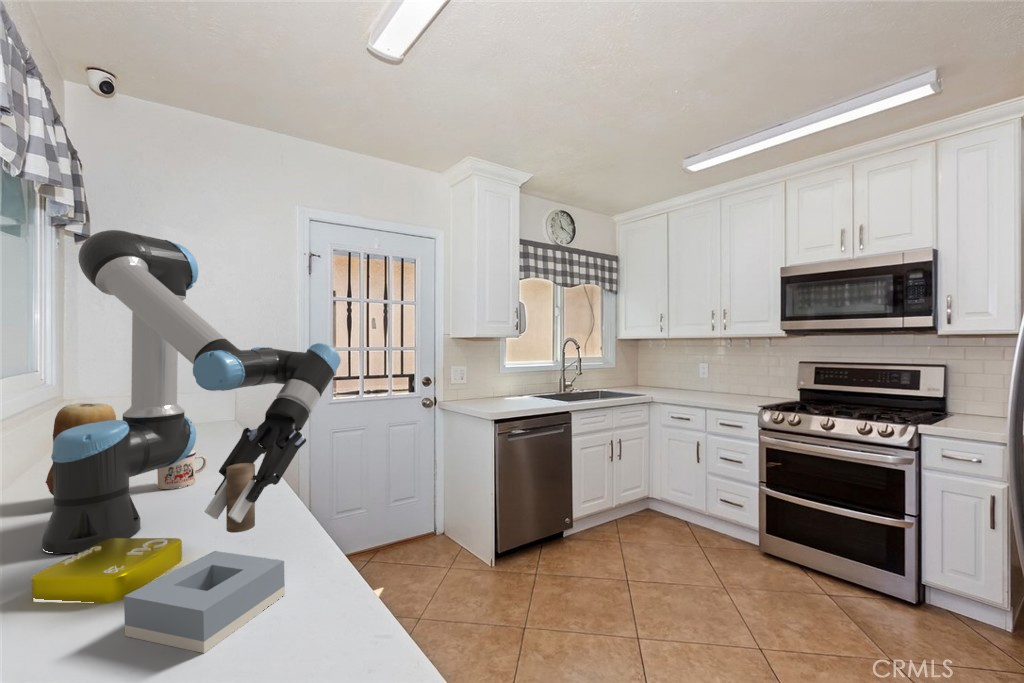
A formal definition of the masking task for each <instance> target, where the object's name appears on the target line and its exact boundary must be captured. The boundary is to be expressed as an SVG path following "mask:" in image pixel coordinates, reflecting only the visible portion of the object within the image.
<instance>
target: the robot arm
mask: <svg viewBox="0 0 1024 683" xmlns="http://www.w3.org/2000/svg"><path fill="white" fill-rule="evenodd" d="M78 264H79V267H80V270H81V272H82V273H83V275H84V276H85V277H86V279H87V280H88V281H89V282H90V283H91V284H92V285H93V286H94V287H95V288H96V289H98V290H99V291H100V292H101V293H103V294H105V295H109V296H114V297H115V298H116V299H118V300H119V301H120V302H121V303H122V304H123V305H124V306H126V308H128V309H129V310H130V311H131V314H132V316H131V318H132V319H131V320H132V322H131V330H132V331H131V389H130V390H131V396H130V397H131V399H130V400H131V402H130V404H131V405H130V407H128V409H126V411H124V412H123V413H122V420H120V419H116V420H109V421H101V422H97V423H89V424H84V425H80V426H77V427H73V428H70V429H68V430H65V431H63V432H61V433H60V434H58V435H57V437H56V438H55V439H54V442H53V441H52V452H51V455H50V456H51V460H52V464H53V490H54V496H53V510H52V512H51V514H50V517H49V520H48V522H47V525H46V527H45V530H44V533H43V536H42V539H41V547H42V548H43V549H44V550H45V551H48V552H53V553H70V554H75V553H74V552H77V553H80V552H82V551H84V550H86V549H88V548H90V547H92V546H94V545H96V544H98V543H101V542H103V541H105V540H108V539H112V538H132V537H133V536H134V535H136V534H137V533H138V532H139V531H140V530H141V517H140V514H139V511H138V510H137V507H136V506H135V503H134V501H133V499H132V497H131V495H130V478H132V477H135V476H138V475H142V474H145V473H148V472H152V471H157V469H159V468H165V467H168V466H170V465H172V464H174V463H177V462H179V461H181V460H183V459H184V458H186V456H188V455H189V454H190V452H191V451H192V450H194V447H195V446H196V442H197V441H196V440H197V430H196V427H195V425H194V424H193V422H192V420H191V419H190V418H189V417H187V416H185V408H183V407H181V406H180V405H179V404H178V362H179V360H178V357H179V356H178V354H181V356H183V357H184V358H185V359H187V361H188V362H190V363H191V364H192V375H193V377H194V378H195V383H196V384H197V385H198V386H199V387H200V388H201V389H204V390H207V391H209V392H216V391H223V392H225V391H230V390H236V389H240V388H247V387H257V386H263V385H264V386H265V385H269V384H270V385H271V384H279V385H283V386H282V387H281V389H280V391H279V392H278V393H277V395H276V397H275V399H274V400H273V401H272V403H271V404H270V405H269V407H268V409H267V410H266V411H265V414H264V415H265V416H264V421H263V422H262V423H260V424H259V425H258V426H257V428H254V429H250V427H245V428H244V429H242V434H241V435H240V438H239V440H238V441H237V443H236V444H235V446H234V447H233V449H232V450H231V452H230V453H229V455H228V456H227V458H226V459H225V461H224V462H223V463H222V465H221V467H220V468H219V470H218V473H220V475H221V476H223V479H222V481H221V483H220V484H219V485H218V487H217V489H216V490H215V492H214V497H213V498H212V500H211V501H210V502H209V504H208V505H207V507H206V509H204V513H205V514H206V515H208V516H210V517H211V518H212V519H214V520H218V519H219V518H220V516H221V514H222V513H223V511H224V510H225V508H227V467H228V466H231V465H234V464H240V463H253V464H255V462H256V461H257V460H258V459H259V458H260V457H261V455H263V454H264V456H263V459H262V461H261V463H260V465H259V468H258V471H257V473H256V474H255V476H253V478H254V479H255V481H254V480H250V481H249V482H248V484H247V485H246V487H245V488H244V490H243V491H242V493H241V495H240V496H239V498H238V499H237V501H236V503H235V504H234V506H233V507H232V509H231V510H230V512H229V514H228V516H229V517H231V518H232V519H234V520H235V521H236V522H240V523H241V521H242V519H243V518H244V516H245V514H246V513H247V511H248V510H249V508H250V506H251V505H252V503H255V504H256V502H257V500H258V499H259V497H260V496H261V494H262V492H263V491H264V489H265V488H266V487H268V486H269V485H274V486H275V485H278V484H279V482H280V481H281V479H282V477H283V476H284V475H285V473H286V471H287V469H288V468H289V466H290V464H291V462H292V461H293V459H294V458H295V456H296V454H297V453H298V451H299V449H301V447H302V446H304V444H306V442H307V439H306V438H305V436H304V435H303V433H301V432H300V431H301V430H303V428H304V426H305V425H306V422H307V421H308V419H309V417H310V415H311V413H313V410H314V408H315V407H316V406H317V404H318V403H319V401H320V399H321V397H322V396H323V393H324V392H325V390H326V389H327V387H328V386H329V384H330V382H331V381H332V380H333V378H334V377H335V375H336V372H337V370H338V368H339V367H340V364H341V361H342V360H341V356H340V354H339V353H338V351H337V350H336V349H335V348H334V347H332V346H330V345H328V344H325V343H322V342H316V343H314V344H312V345H310V346H309V347H308V348H307V350H306V351H305V352H303V351H291V350H285V349H280V348H279V349H277V348H273V347H267V346H266V347H263V346H262V347H260V346H259V347H258V346H256V347H252V348H251V349H239V348H238V347H237V346H235V345H234V344H233V343H232V342H231V341H230V340H228V339H227V338H226V337H225V336H224V335H223V334H221V333H220V332H219V331H218V330H217V329H215V328H214V327H213V326H212V325H210V324H209V322H207V321H206V320H205V319H204V318H202V317H201V316H200V315H199V314H198V313H197V312H196V311H195V310H194V309H193V308H191V307H190V306H189V305H188V304H186V303H185V302H184V300H186V299H187V291H188V290H190V289H192V288H193V287H194V286H195V285H194V284H195V283H197V281H198V278H199V266H198V262H197V259H196V257H195V256H194V254H193V253H192V252H191V251H190V250H188V249H187V247H185V246H183V245H181V244H180V243H175V242H172V241H171V240H167V239H162V238H156V237H151V236H147V235H143V234H139V233H133V232H128V231H125V230H118V229H108V230H103V231H99V232H97V233H95V234H92V235H91V236H89V237H87V239H86V240H85V241H84V242H83V243H82V244H81V246H80V249H79V252H78ZM42 548H41V549H42Z"/></svg>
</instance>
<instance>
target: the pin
mask: <svg viewBox="0 0 1024 683" xmlns="http://www.w3.org/2000/svg"><path fill="white" fill-rule="evenodd" d="M255 475H256V464H255V463H240V464H234V465H231V466H228V467H227V505H226V524H225V525H226V527H225V528H226V532H228V533H232V534H233V533H243V532H247V531H249V530H252V529H253V528H255V526H256V502H255V503H252V505H251V506H250V508H249V510H248V511H247V513H246V514H245V516H244V518H243V519H242V521H241V523H240V522H236V521H235V520H234V519H232V518H231V517H229V516H228V514H229V512H230V510H231V509H232V507H233V506H234V504H235V503H236V501H237V499H238V498H239V496H240V495H241V493H242V491H243V490H244V488H245V487H246V485H247V484H248V482H249V481H250V480H254V481H255V482H256V480H255V479H254V478H253V476H255Z"/></svg>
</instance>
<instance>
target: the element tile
mask: <svg viewBox="0 0 1024 683" xmlns="http://www.w3.org/2000/svg"><path fill="white" fill-rule="evenodd" d="M182 543H183V542H182V539H181V538H177V537H173V538H170V537H169V538H168V537H166V538H165V537H158V538H157V537H152V538H151V537H149V538H147V537H129V538H112V539H108V540H105V541H103V542H101V543H98V544H96V545H94V546H92V547H90V548H88V549H86V550H84V551H82V552H77V553H75V554H73V555H72V556H69V557H67V558H65V559H63V560H60V561H59V562H57V563H54V564H53V565H51V566H49V567H47V568H44V569H42V570H40V571H38V572H37V573H35V574H33V575H32V576H31V579H30V580H31V598H32V597H33V598H35V599H44V600H62V601H81V602H94V603H93V604H109V603H110V604H111V603H115V602H116V603H117V602H119V601H122V600H124V596H125V595H127V594H129V593H131V592H133V591H135V590H137V589H139V588H141V587H143V586H145V585H147V584H149V583H151V582H153V581H155V580H157V579H158V578H159V577H160V576H162V575H163V574H165V573H166V572H168V571H169V570H172V568H174V567H176V566H177V565H179V564H180V563H181V562H182V561H183V544H182Z"/></svg>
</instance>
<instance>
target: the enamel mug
mask: <svg viewBox="0 0 1024 683" xmlns="http://www.w3.org/2000/svg"><path fill="white" fill-rule="evenodd" d="M196 454H197V452H196V450H194V449H192V451H191V452H190V454H189V455H188V456H186V458H184V459H183V460H181V461H179V462H177V463H174V464H172V465H170V466H168V467H165V468H159V469H156V471H157V488H158V489H159V490H162V489H171V490H175V489H174V488H179V487H183V488H185V487H184V486H187V485H190V484H192V485H194V484H195V483H196V474H198V473H199V474H200V473H201V472H203V471H204V470H205V469H206V467H207V464H208V460H207V457H206V456H204V455H201V454H200V455H196ZM196 459H202V460H203V462H202V465H201V467H200V468H198V469H197V470H196ZM193 483H194V484H193ZM190 486H191V485H190ZM187 487H188V486H187ZM179 489H180V488H179Z"/></svg>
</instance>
